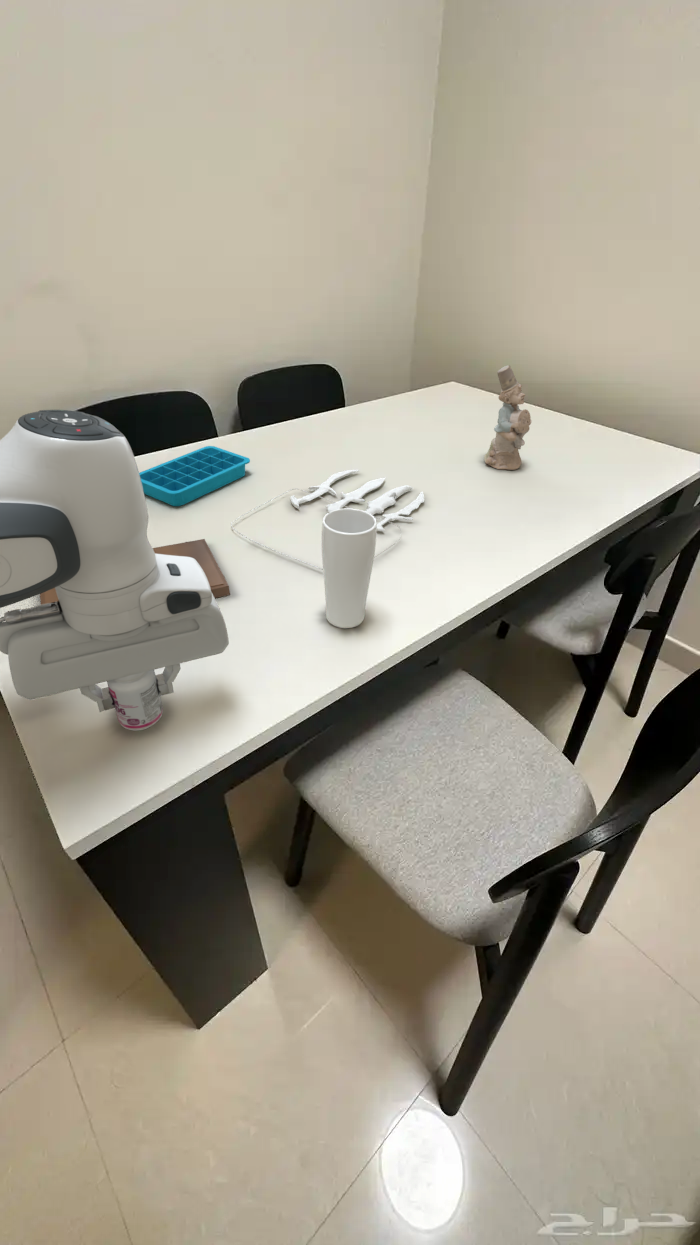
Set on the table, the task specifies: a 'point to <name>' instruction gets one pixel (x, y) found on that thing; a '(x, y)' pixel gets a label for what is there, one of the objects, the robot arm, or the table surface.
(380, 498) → the knife set
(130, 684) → the pill bottle
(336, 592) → the drinking glass
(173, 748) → the table surface
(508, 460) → the figurine
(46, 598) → the cutting board
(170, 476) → the ice cube tray
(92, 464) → the robot arm
